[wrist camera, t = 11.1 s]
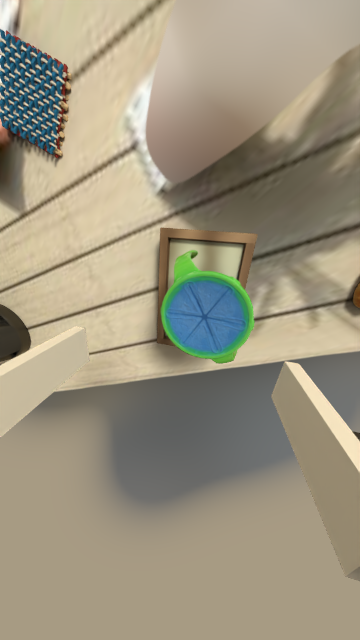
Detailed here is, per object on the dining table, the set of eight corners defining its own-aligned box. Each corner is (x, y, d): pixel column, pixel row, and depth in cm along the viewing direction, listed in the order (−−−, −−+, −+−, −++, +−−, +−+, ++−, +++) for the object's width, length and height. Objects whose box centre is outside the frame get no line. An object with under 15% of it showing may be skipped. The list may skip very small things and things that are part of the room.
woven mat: (77, 74, 23) (65, 58, 22) (65, 162, 28) (54, 156, 26) (11, 36, 23) (-6, 18, 21) (9, 131, 28) (-5, 123, 26)
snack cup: (256, 334, 28) (267, 373, 19) (197, 344, 32) (182, 380, 23) (234, 238, 24) (234, 226, 15) (170, 263, 28) (138, 266, 19)
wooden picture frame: (162, 335, 36) (157, 342, 33) (166, 230, 28) (160, 227, 25) (228, 345, 34) (229, 355, 31) (252, 236, 26) (257, 234, 23)
